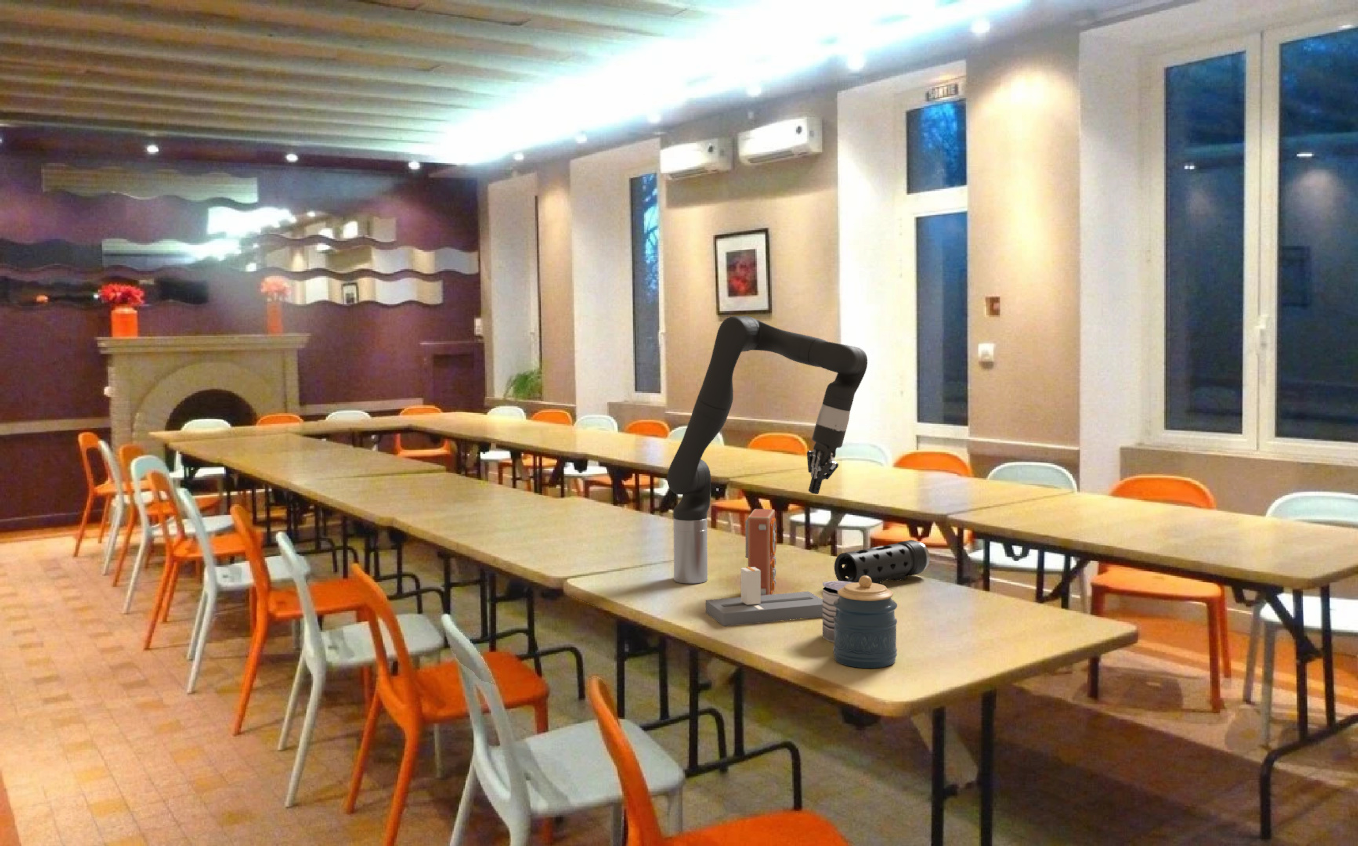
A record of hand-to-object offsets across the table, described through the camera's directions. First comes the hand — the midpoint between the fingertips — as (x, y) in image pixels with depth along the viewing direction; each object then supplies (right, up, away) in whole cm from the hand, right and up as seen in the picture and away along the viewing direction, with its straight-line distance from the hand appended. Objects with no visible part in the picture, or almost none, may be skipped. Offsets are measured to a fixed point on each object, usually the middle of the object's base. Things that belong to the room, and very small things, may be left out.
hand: (813, 493), depth 268 cm
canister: (+5, -32, -43) cm, 54 cm away
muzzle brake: (+22, -26, +24) cm, 42 cm away
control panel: (-12, -27, +12) cm, 32 cm away
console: (-12, -29, -7) cm, 32 cm away
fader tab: (-16, -26, -9) cm, 31 cm away
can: (+4, -31, -27) cm, 41 cm away
